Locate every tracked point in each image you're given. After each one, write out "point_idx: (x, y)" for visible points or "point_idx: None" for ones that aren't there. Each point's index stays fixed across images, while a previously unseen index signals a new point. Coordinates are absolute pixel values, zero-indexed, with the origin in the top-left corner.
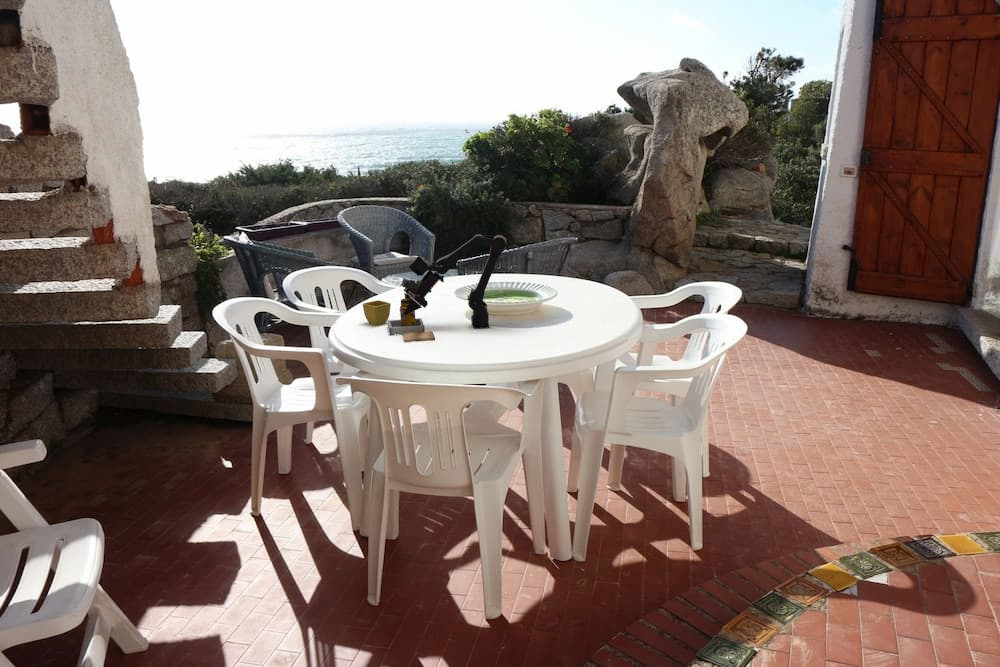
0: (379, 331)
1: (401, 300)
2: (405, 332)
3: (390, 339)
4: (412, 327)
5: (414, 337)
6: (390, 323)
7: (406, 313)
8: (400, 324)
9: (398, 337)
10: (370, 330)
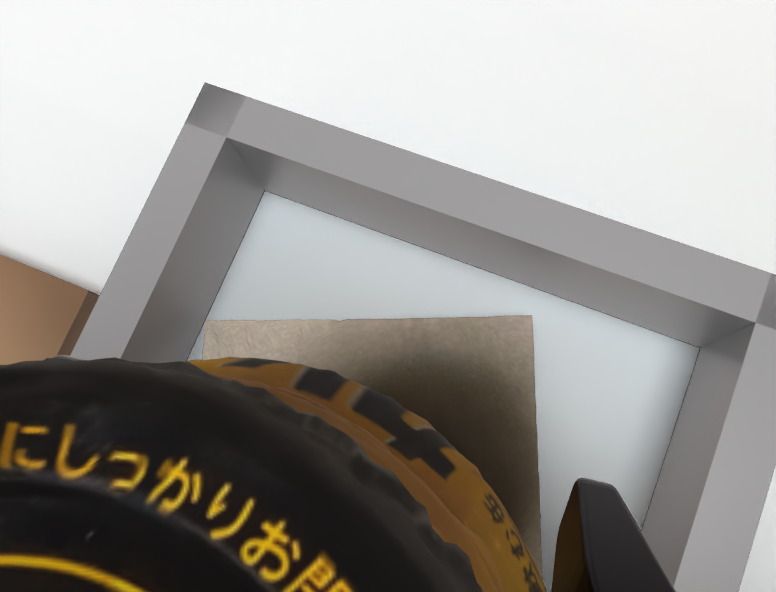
0: (574, 102)
1: (68, 387)
2: None
3: (55, 73)
4: None
5: None
6: (528, 234)
7: None
8: (659, 532)
9: (66, 206)
10: (719, 10)
